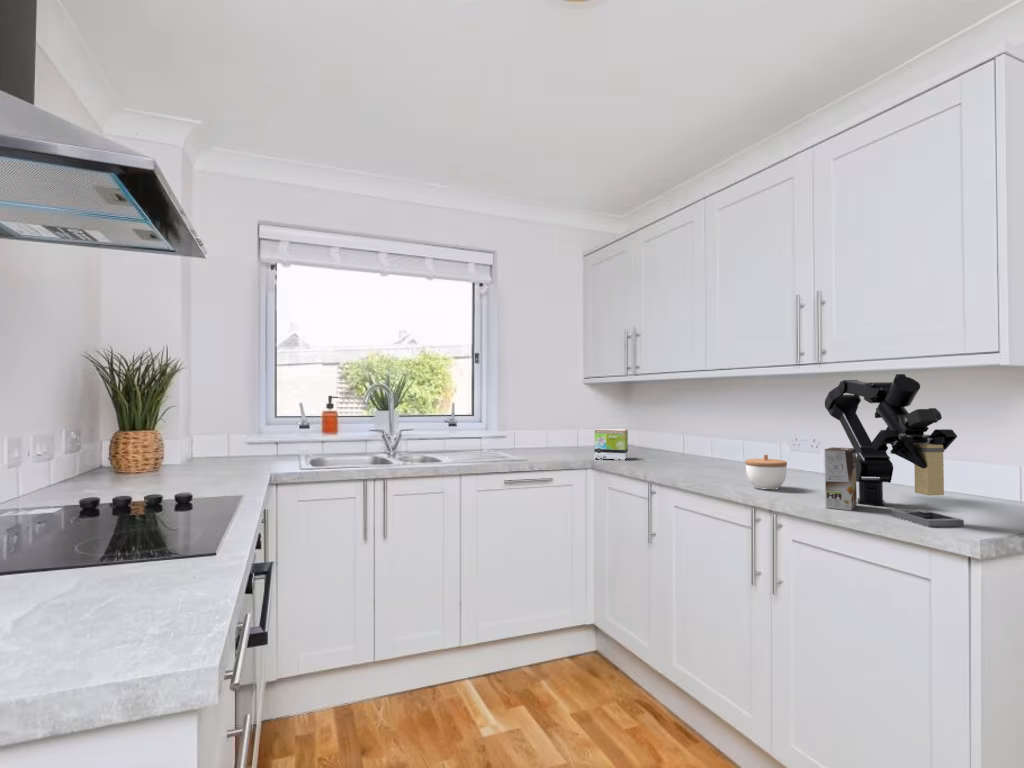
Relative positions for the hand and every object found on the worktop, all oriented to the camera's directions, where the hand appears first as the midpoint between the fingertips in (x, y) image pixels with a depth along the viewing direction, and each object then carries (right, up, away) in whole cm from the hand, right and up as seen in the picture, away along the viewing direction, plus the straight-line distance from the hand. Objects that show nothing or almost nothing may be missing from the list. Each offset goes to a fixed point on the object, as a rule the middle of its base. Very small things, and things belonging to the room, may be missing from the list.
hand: (933, 467), depth 134 cm
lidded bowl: (-17, -15, +51) cm, 56 cm away
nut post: (0, -7, +1) cm, 7 cm away
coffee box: (-10, -14, +20) cm, 26 cm away
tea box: (-53, -17, +137) cm, 148 cm away
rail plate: (0, -13, +1) cm, 13 cm away
